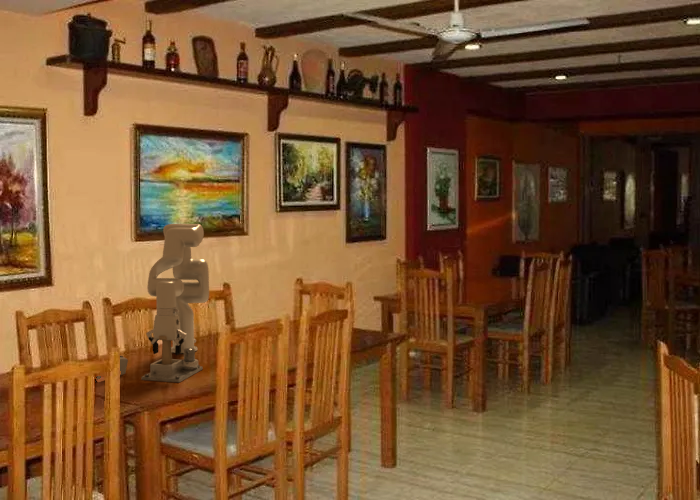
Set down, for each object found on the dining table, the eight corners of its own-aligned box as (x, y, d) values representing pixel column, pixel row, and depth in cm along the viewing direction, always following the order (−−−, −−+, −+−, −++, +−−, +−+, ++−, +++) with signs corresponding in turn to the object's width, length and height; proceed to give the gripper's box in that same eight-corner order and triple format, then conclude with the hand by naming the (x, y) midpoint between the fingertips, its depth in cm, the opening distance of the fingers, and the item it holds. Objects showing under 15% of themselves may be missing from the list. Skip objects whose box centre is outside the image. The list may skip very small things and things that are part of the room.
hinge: (115, 372, 321) (122, 350, 319) (124, 377, 319) (131, 355, 317) (87, 381, 306) (93, 358, 304) (96, 386, 304) (103, 363, 302)
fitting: (167, 367, 330) (166, 345, 329) (202, 369, 326) (202, 347, 326) (141, 379, 309) (141, 356, 308) (179, 382, 305) (179, 359, 304)
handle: (157, 372, 316) (156, 335, 315) (169, 369, 321) (168, 333, 320) (165, 374, 313) (164, 336, 312) (177, 370, 318) (176, 334, 317)
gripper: (190, 311, 317) (190, 353, 318) (150, 309, 320) (151, 350, 322) (182, 314, 309) (182, 357, 311) (141, 312, 313) (142, 354, 315)
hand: (166, 353), depth 316 cm, fingers open, 9 cm apart
